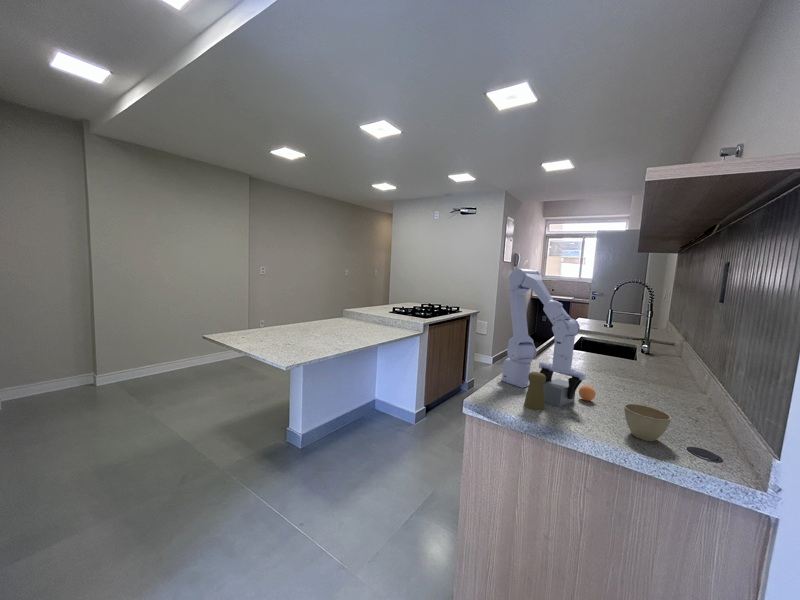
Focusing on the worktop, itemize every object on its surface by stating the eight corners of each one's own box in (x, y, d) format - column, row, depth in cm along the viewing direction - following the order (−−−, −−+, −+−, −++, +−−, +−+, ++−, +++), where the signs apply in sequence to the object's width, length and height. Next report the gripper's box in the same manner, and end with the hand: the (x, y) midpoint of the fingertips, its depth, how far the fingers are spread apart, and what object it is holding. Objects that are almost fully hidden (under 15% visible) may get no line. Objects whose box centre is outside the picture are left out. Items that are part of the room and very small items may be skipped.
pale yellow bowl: (668, 451, 80) (672, 423, 79) (620, 436, 86) (623, 410, 85) (666, 436, 88) (670, 411, 87) (622, 424, 94) (625, 400, 93)
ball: (575, 399, 112) (577, 385, 111) (581, 396, 115) (583, 382, 114) (591, 404, 108) (592, 389, 107) (596, 401, 111) (598, 387, 110)
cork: (547, 408, 102) (551, 374, 101) (538, 412, 98) (542, 377, 97) (530, 401, 107) (533, 368, 106) (520, 405, 103) (523, 371, 102)
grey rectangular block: (540, 400, 108) (542, 383, 107) (555, 394, 114) (557, 378, 114) (559, 407, 103) (561, 389, 102) (574, 401, 109) (576, 383, 109)
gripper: (536, 351, 110) (532, 389, 111) (580, 362, 99) (575, 404, 100) (546, 349, 115) (542, 386, 116) (590, 359, 103) (585, 400, 105)
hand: (558, 394), depth 108 cm, fingers open, 7 cm apart
